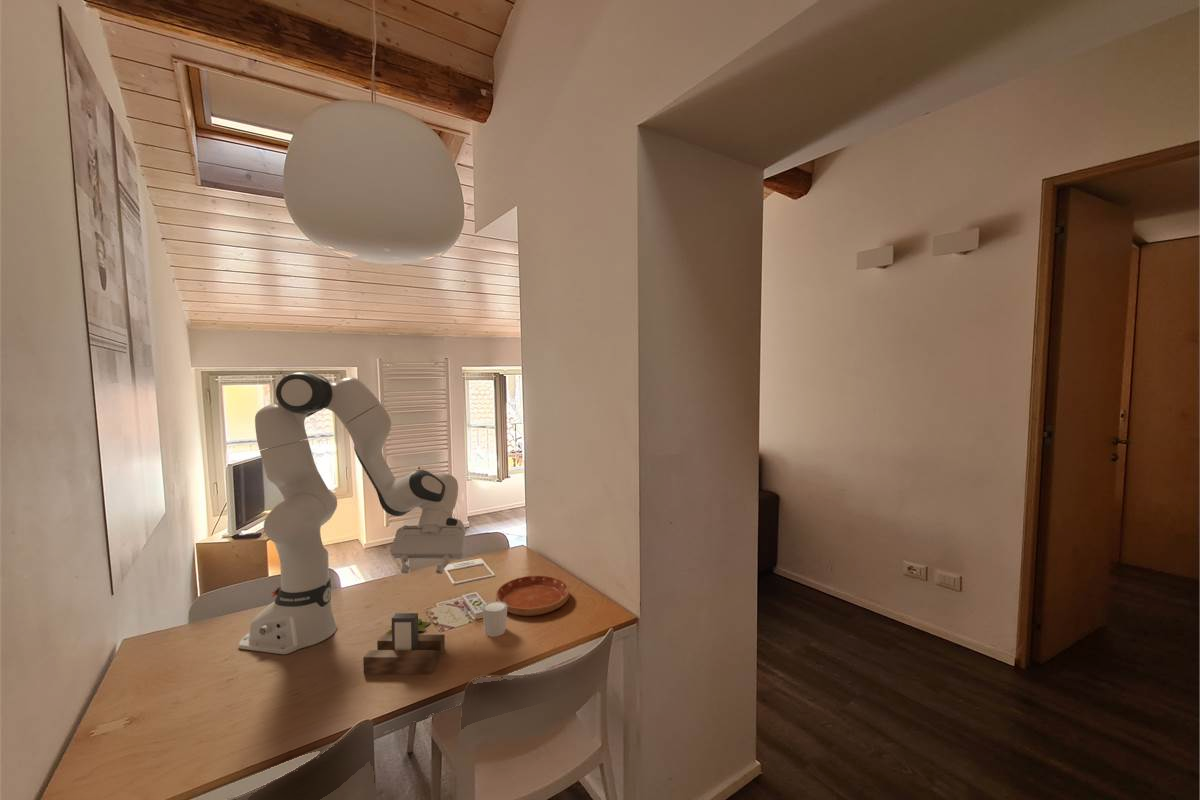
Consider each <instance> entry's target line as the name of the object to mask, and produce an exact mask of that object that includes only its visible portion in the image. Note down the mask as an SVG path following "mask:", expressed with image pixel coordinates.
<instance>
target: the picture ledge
mask: <svg viewBox="0 0 1200 800" xmlns="http://www.w3.org/2000/svg"><path fill="white" fill-rule="evenodd" d="M445 636H446V635H445V634H418V642H419V650H392V634H386V633H383V634H382V635H381V636H380V637H379V638H378V639H377V641H376V642H377V643H376V646H377V647H376V649H369V650H368V651H367V652H366V654H365V655H364V656H363V658H362V659H363V674H365V675H370V674H371V675H372V674H374V675H375V674H378V675H380V674H381V675H388V674H389V675H391V674H394V675H397V674H398V675H404V674H405V675H407V674H409V675H410V674H411V675H421V674H422V675H426V674H427V675H428V674H429V675H430V674H432V673H433V671H434V669H435V667H436V666H437V664H438V663H439V660H440V659H441V657H442V655H443V654H444V652H445V650H446V646H445V645H446V641H445V640H446V639H445V638H446V637H445Z"/></svg>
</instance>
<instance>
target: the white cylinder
mask: <svg viewBox="0 0 1200 800" xmlns="http://www.w3.org/2000/svg"><path fill="white" fill-rule="evenodd" d="M481 610H482V611H481V612H482V619H483V621H482V622H483V628H484V629H483V631H484V635H485V636H488V637H492V638H495V637H500V636H501V635H504V633H505V632H506V626H507V618H508V617H507V615H508V614H507V613H508V612H507V604H506V603H504V602H501V601H496V600H495V601H490V602H486V603H485V604H484V605H483V606H482V607H481Z"/></svg>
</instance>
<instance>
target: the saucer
mask: <svg viewBox="0 0 1200 800" xmlns="http://www.w3.org/2000/svg"><path fill="white" fill-rule="evenodd" d="M569 597H570V587H569V586H568V584H567V583H566V581H564V580H563V579H560V578H558V577H554V576H549V575H528V576H522V577H516V578H514V579H511V580H509V581H506V582H505V583H503V584H502V585H501V586H499V587H498V589H497V590H496V592H495V601H501V602H504V603H506V604H507V613H510V614H513V615H516V616H522V617H523V616H524V617H528V616H529V617H531V616H532V617H535V616H541V615H545V614H547V613H551V612H553V611H555V610H556V609H559V608H561V607H562V606H564V604H565V603H566V602H567V601H568V599H569Z"/></svg>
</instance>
